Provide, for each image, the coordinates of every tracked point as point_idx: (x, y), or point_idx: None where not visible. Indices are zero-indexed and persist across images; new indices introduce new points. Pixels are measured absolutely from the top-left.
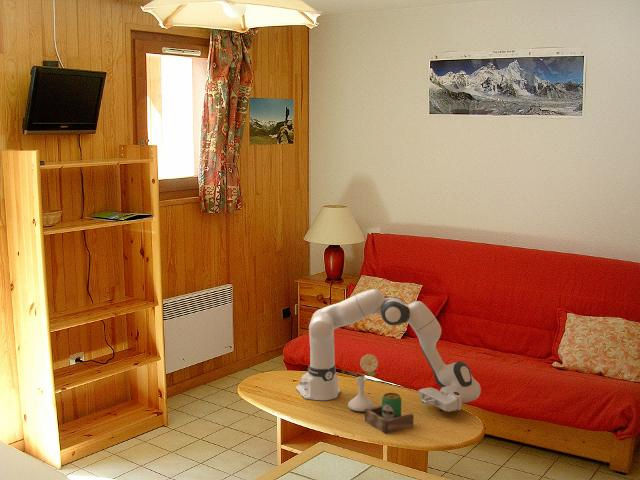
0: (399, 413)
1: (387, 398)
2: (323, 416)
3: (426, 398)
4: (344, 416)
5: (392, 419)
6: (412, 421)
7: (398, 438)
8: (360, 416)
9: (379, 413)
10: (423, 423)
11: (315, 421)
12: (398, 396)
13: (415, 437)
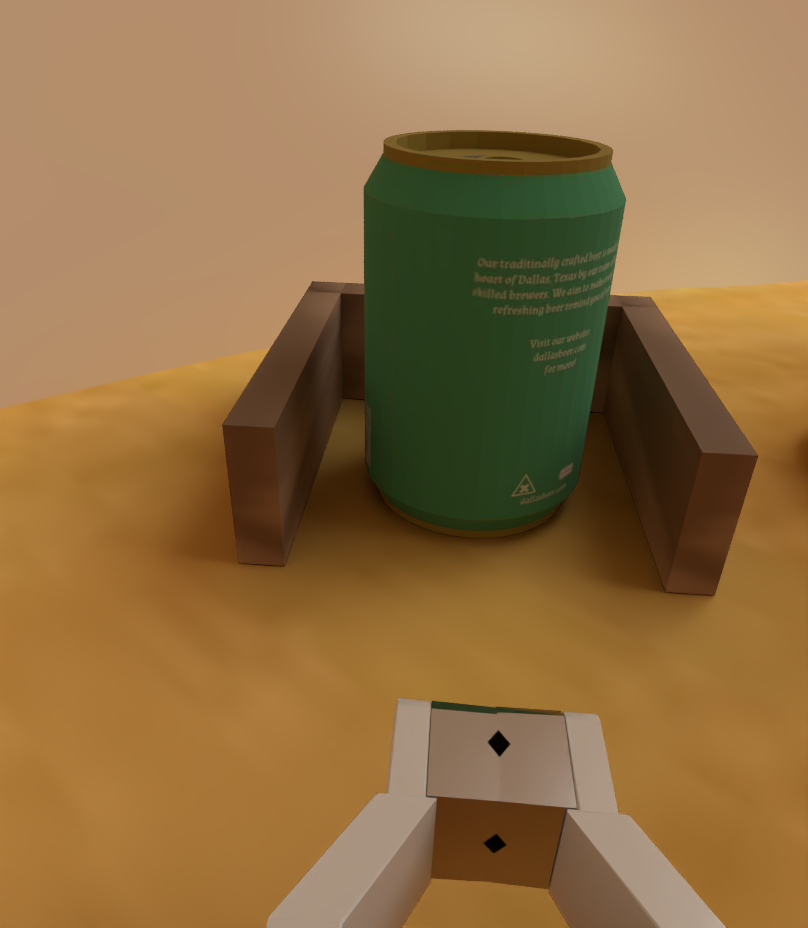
0: (367, 363)
1: (451, 133)
2: (804, 323)
3: (628, 901)
4: (774, 369)
5: (308, 310)
6: (235, 496)
7: (174, 394)
8: (742, 416)
9: (633, 412)
10: (196, 702)
11: (728, 293)
12: (461, 176)
13: (52, 459)
